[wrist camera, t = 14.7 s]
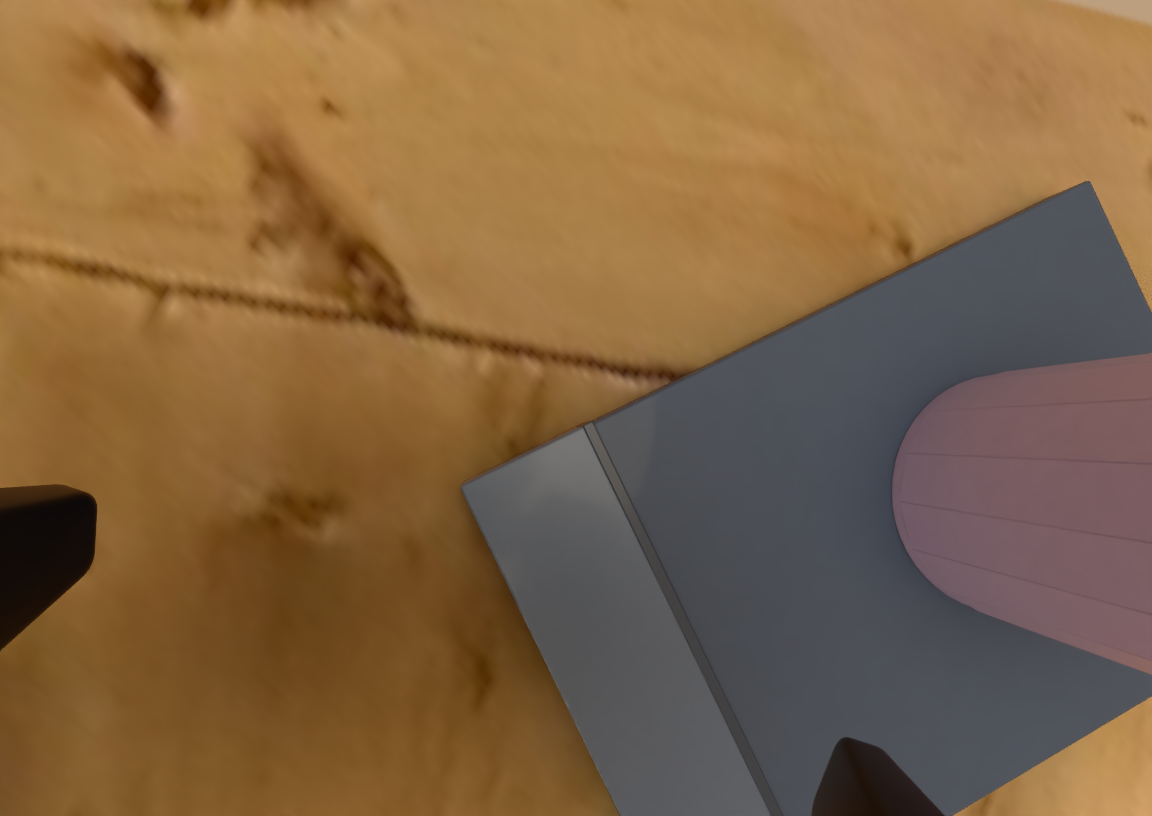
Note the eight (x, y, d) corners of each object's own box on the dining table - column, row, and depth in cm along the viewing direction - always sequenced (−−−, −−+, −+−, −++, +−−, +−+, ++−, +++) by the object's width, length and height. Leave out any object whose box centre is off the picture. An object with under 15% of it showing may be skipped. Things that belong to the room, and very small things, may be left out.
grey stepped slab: (681, 931, 20) (697, 976, 19) (462, 482, 20) (458, 486, 19) (1239, 601, 23) (1297, 615, 21) (1047, 195, 23) (1092, 176, 21)
